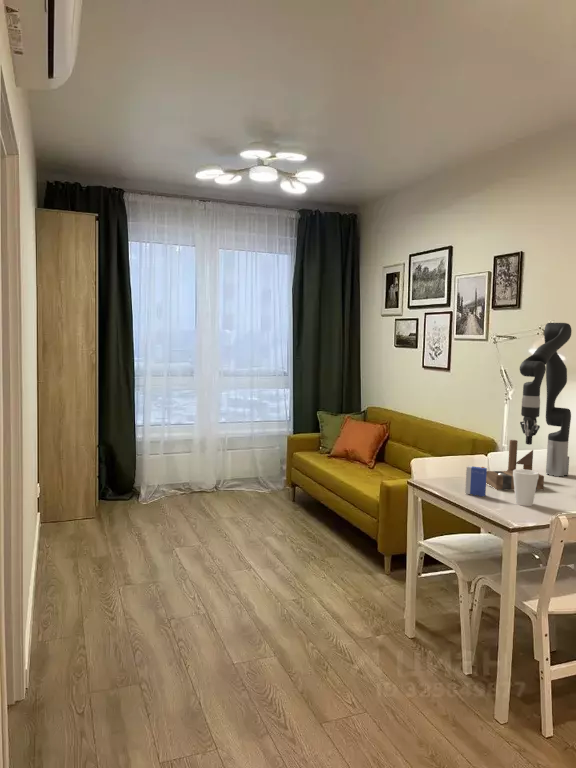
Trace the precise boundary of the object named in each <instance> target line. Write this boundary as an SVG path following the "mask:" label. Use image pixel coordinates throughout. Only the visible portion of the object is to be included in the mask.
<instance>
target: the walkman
mask: <svg viewBox="0 0 576 768" xmlns="http://www.w3.org/2000/svg"><path fill="white" fill-rule="evenodd" d="M465 471H466V472H465V473H466V474H465V475H466V476H465V489H464V490H465V493H466V494H465V495H468V494H473V495H472V496H475V495H479V496H478V497H482V496H485V497H486V496H487V495H486V493H487V491H486V490H487V485H486V476H487V471H488V468H487V467H485V466H480V467H479V466H471V465H468V466H466V470H465Z"/></svg>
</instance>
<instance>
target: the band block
mask: <svg viewBox="0 0 576 768" xmlns="http://www.w3.org/2000/svg"><path fill="white" fill-rule="evenodd" d="M498 473H505V474H506V475H500V474H498ZM544 481H545V476H544V475H543V474H540V473H539V478H538V481H537V486H536V489H543V490H544V487H545V486H544V485H545V484H544ZM486 483H487V484H489V485H491V486H492V487H494V488H495V489H514V478H513V471H507V470H487V476H486ZM492 487H491V488H492ZM494 488H493V489H494ZM495 489H494V490H495Z"/></svg>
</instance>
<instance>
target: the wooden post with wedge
mask: <svg viewBox="0 0 576 768" xmlns="http://www.w3.org/2000/svg"><path fill="white" fill-rule="evenodd" d="M517 455H518V440H516V439H509V446H508V466H507V470H506V471H513V470H516V469H517V465H522V466H523V467H522V469H525V470H532V471H533V464H534V463H533V461H534V460H533V459H534V449H532V450H530V451H529V452H528V453H527V454H525V455H524V456H523V457H522V458H520V459H519V460H518V461H517V459H518V456H517Z"/></svg>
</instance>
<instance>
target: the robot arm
mask: <svg viewBox="0 0 576 768" xmlns="http://www.w3.org/2000/svg"><path fill="white" fill-rule="evenodd" d="M572 331H573V330H572V326H571V325H570V323H567V322H547V323H546V324H545V326H544V331H543V337H544V343H543V344H541V345H539V346H538V347H537V348H536V350H535V351H534V352H533V354H532V355H530V356H528V357H527V358H525V359H524V360H523V361H521V364H520V365H519V372H520V374H521V375H522V376H523V377H527V378H528V377H531V378H533V380H532V381H526V382H524V383H523V387H522V388H523V389H522V390H523V391H522V399H521V413H520V416H521V417H523V419H522V421H520V423H519V424H520V427H521V428H520V429H521V431H522V433H523V434H524V435H525V444H526V445H533V444H532V443H533V437H534V436H536V435H537V433H538V431H540V428H541V427H540V425H538V424H537V423H538V421H537V420H538V419H537V418H539V417H540V413H541V412H540V410H541V397H540V396H541V386H542V382H543V380H544V376H545V382H546V402H545V403H546V404H545V405H546V406H545V422H546V424H547V425H548V426H550V427H551V426H552V427H558V428H559V427H560V429H559V430H558V431H555V432H551V433H550V432H549V433H548V435H547V448H546V451H547V452H546V465H545V474H546V473H547V474H549V475H548V476H551V475H554V476H553V477H559V476H563V477H565V476H564V475H568V476H569V472H570V471H569V467H570V456H568V455H569V453H568V452H569V438H570V429H571V428H570V427H571V423H572V422H571V421H572V411H571V410H570V408H568V407H555V405H556V400H557V398H558V397H559V395H560V393H561V392H562V391H563V389H564V388H565V387H566V385H567V384H568V383H567V382H568V368H567V366H566V363H564V361H563V359H562V358H561V356H560V355H559V353H558V351H559V349H561V348H562V347H563V346H564V345H565V344H566V343H568V342H569V340H570V338H571V337H572V333H573V332H572ZM547 474H546V475H547Z"/></svg>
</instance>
